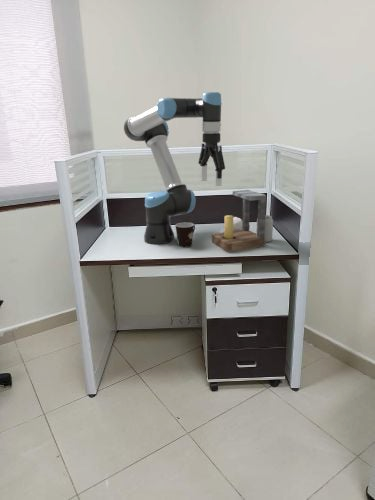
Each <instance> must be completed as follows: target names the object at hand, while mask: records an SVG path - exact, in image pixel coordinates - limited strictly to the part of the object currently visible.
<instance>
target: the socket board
mask: <svg viewBox="0 0 375 500" xmlns="http://www.w3.org/2000/svg"><path fill="white" fill-rule="evenodd" d="M232 196H235V197H238V198H240V199H242V230H237V231H233V239H229V240H226V239H224V232H218V233H213V234H211V243H212V244H214V245H215V246H217V247H218V248H220V249H222V251H224V252H225V253H233V252H234V253H235V252H238V251H239V252H240V251H243V250H244V251H245V250H251V249H255V248H261V247H265V243H264V238H265V215H267V211H266V209H267V195H266V194H264V193H260V192H257V191H253V190H250V189H242V190H240V189H239V190H233V191H232ZM251 201H258V202H257V203H258V205H257V219H258V226H257V225H256V231H257V234H256V233H255V232H253V231H252V230H249V225H250V215H251V213H250V210H251V209H250V208H251V207H250V206H251V205H250V204H251Z"/></svg>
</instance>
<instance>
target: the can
mask: <svg viewBox="0 0 375 500" xmlns="http://www.w3.org/2000/svg"><path fill="white" fill-rule="evenodd" d="M257 226H258V218H257V219H256V227H257ZM273 226H274V219H273V216H271V215H267V214H265V238H264V244H265V243H269V242H271V241H273V230H274V229H273V228H274V227H273ZM256 234H257V230H256Z"/></svg>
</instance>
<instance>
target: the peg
mask: <svg viewBox="0 0 375 500" xmlns="http://www.w3.org/2000/svg"><path fill="white" fill-rule="evenodd" d="M233 217H234V215H227V214H226V215H224V225H223V226H224V227H223V228H224V232H223V233H224V239H226V240H229V239H233Z"/></svg>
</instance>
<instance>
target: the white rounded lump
mask: <svg viewBox="0 0 375 500" xmlns="http://www.w3.org/2000/svg"><path fill="white" fill-rule="evenodd" d="M242 221H243V219H242V218H240V217H237V216H233V231H237V230H242ZM249 231H251V225H250V224H249Z"/></svg>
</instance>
